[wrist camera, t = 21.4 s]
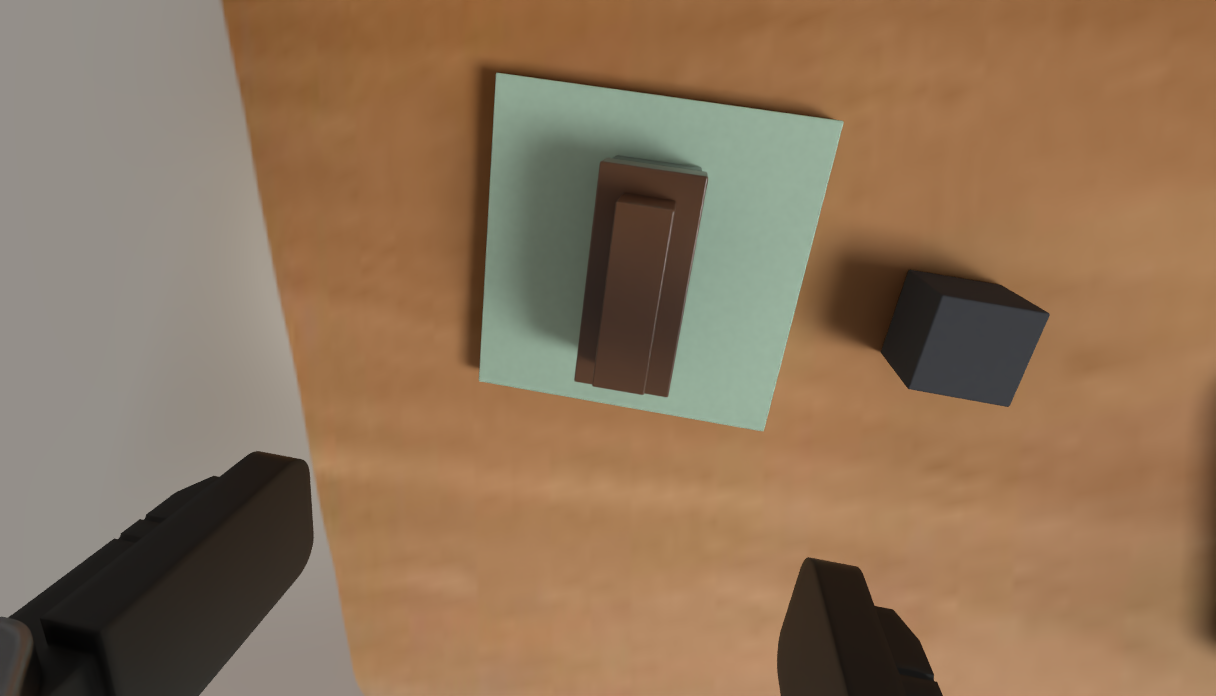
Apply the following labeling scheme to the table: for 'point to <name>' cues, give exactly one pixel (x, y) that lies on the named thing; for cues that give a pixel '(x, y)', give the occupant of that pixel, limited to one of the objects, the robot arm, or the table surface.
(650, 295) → the brown stepped block
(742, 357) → the tray
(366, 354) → the table surface
